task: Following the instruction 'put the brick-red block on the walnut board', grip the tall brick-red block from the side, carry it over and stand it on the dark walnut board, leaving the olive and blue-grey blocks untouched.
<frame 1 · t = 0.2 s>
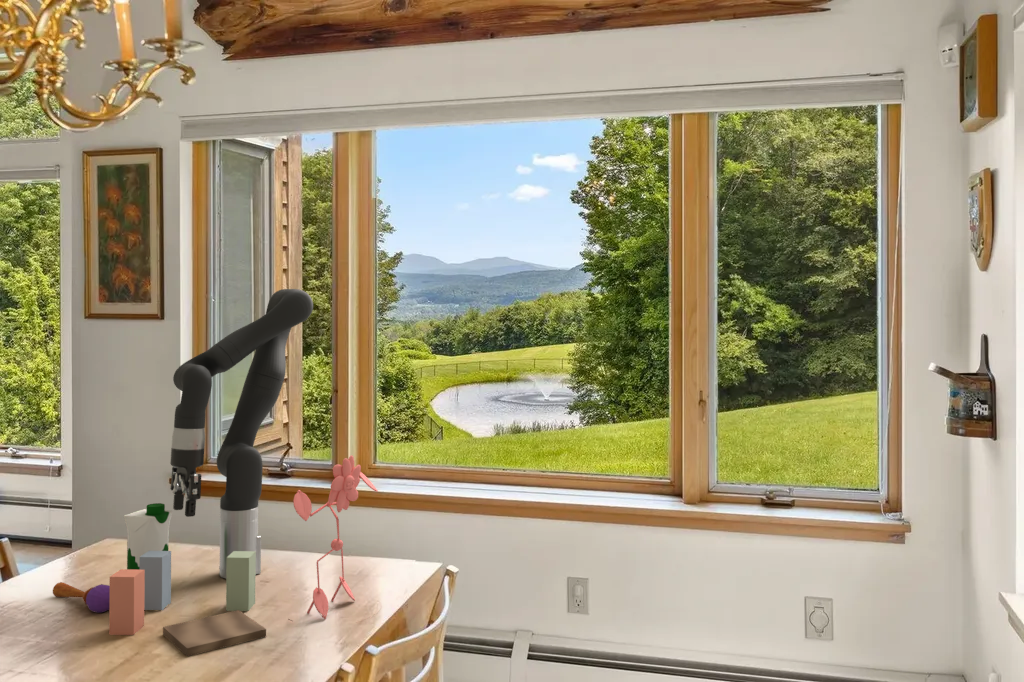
hand: (183, 512, 200), 18 cm above the table, tool pointing down, fingers open, 8 cm apart
milk carton: (147, 587, 199), on the table
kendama: (83, 606, 187), on the table
walnut board: (214, 635, 170), on the table
olive block: (240, 606, 187), on the table
figurine: (345, 612, 185), on the table
red block: (127, 630, 172), on the table
blue grey block: (155, 606, 186), on the table
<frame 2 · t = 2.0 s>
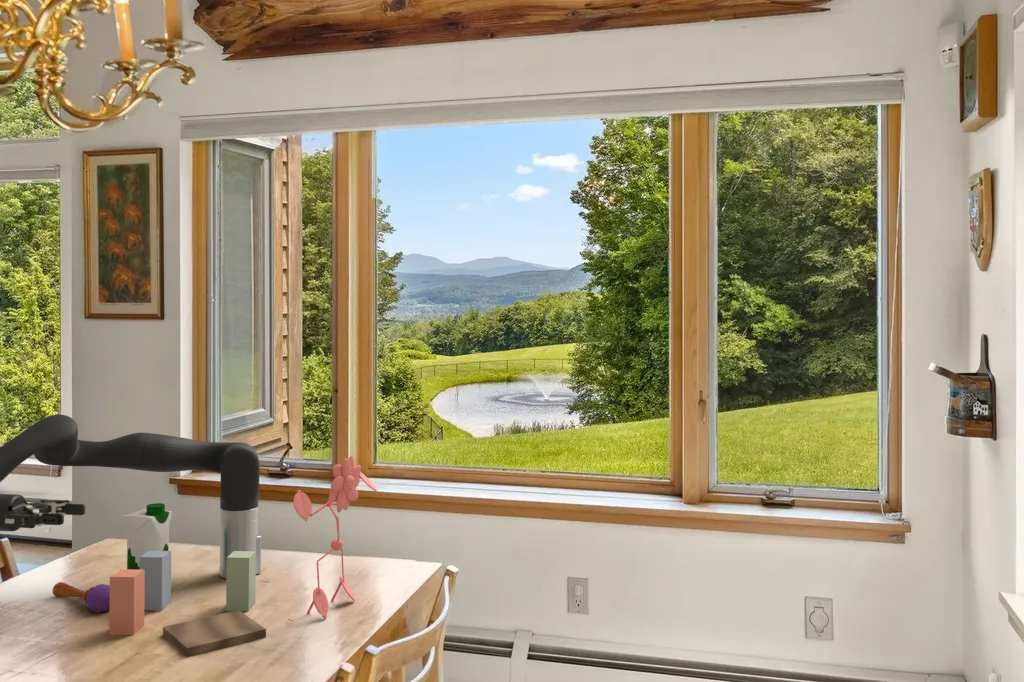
hand: (74, 514, 171), 24 cm above the table, tool horizontal, fingers open, 8 cm apart
nothing on the table moved.
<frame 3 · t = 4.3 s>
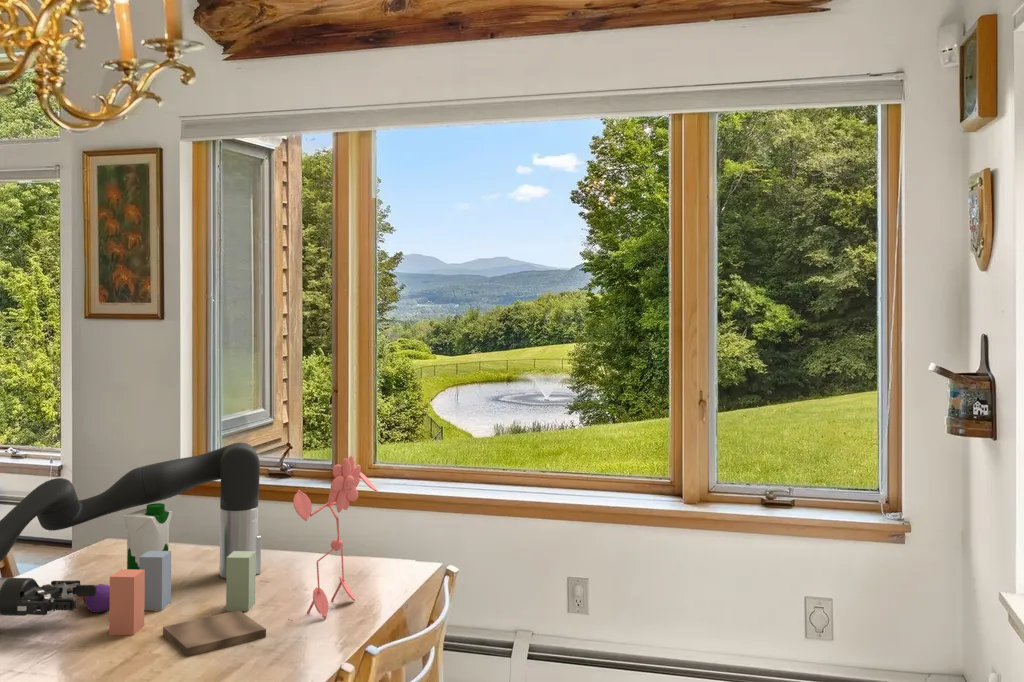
hand: (85, 597, 172), 7 cm above the table, tool horizontal, fingers open, 8 cm apart
nothing on the table moved.
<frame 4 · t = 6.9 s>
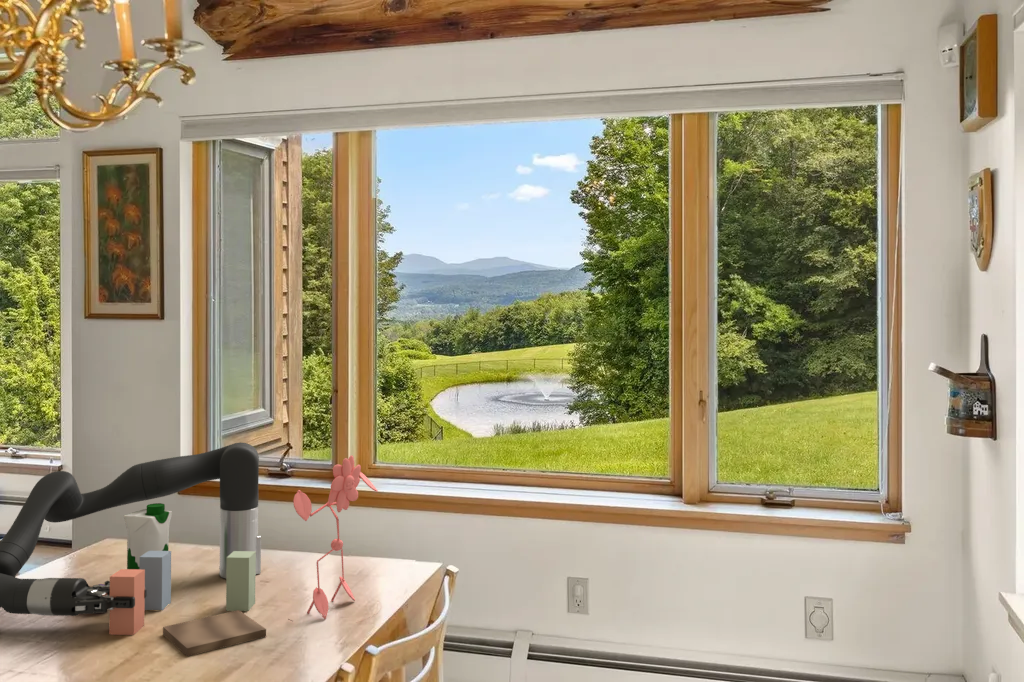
hand: (139, 597, 172), 7 cm above the table, tool horizontal, fingers closed on red block, 5 cm apart
red block: (127, 630, 172), on the table, touching gripper
everything else where it was.
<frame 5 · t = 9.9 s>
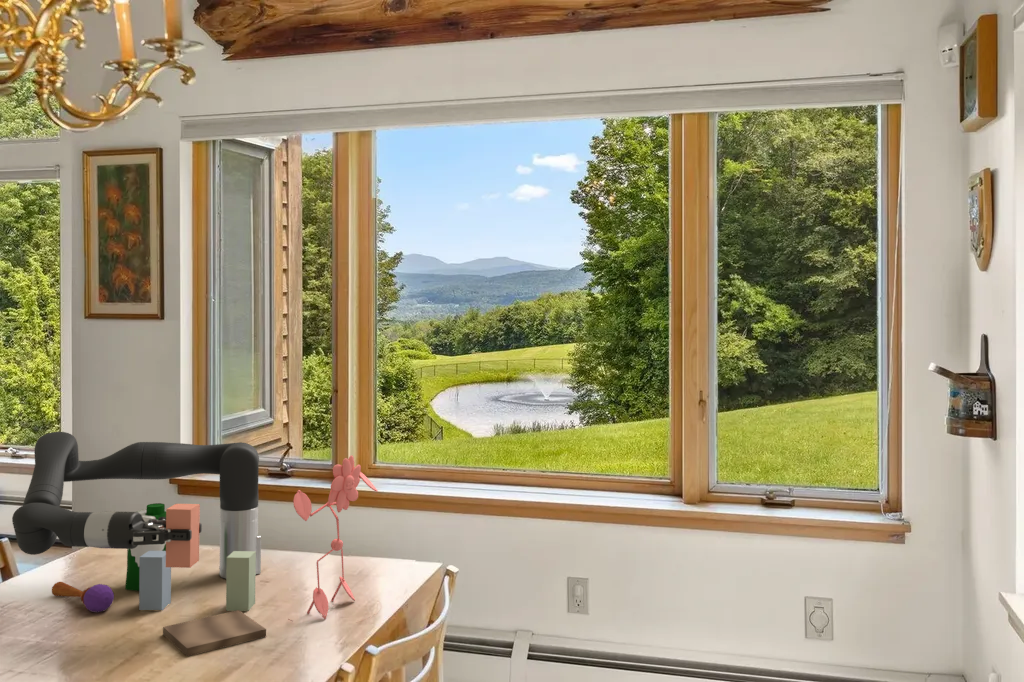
hand: (195, 531, 172), 21 cm above the table, tool horizontal, fingers closed on red block, 5 cm apart
red block: (182, 563, 172), point 14 cm above the table, touching gripper
everything else where it was.
when the fingers open (9 cm above the table, at t = 13.2 s): red block drops 1 cm, resting on walnut board.
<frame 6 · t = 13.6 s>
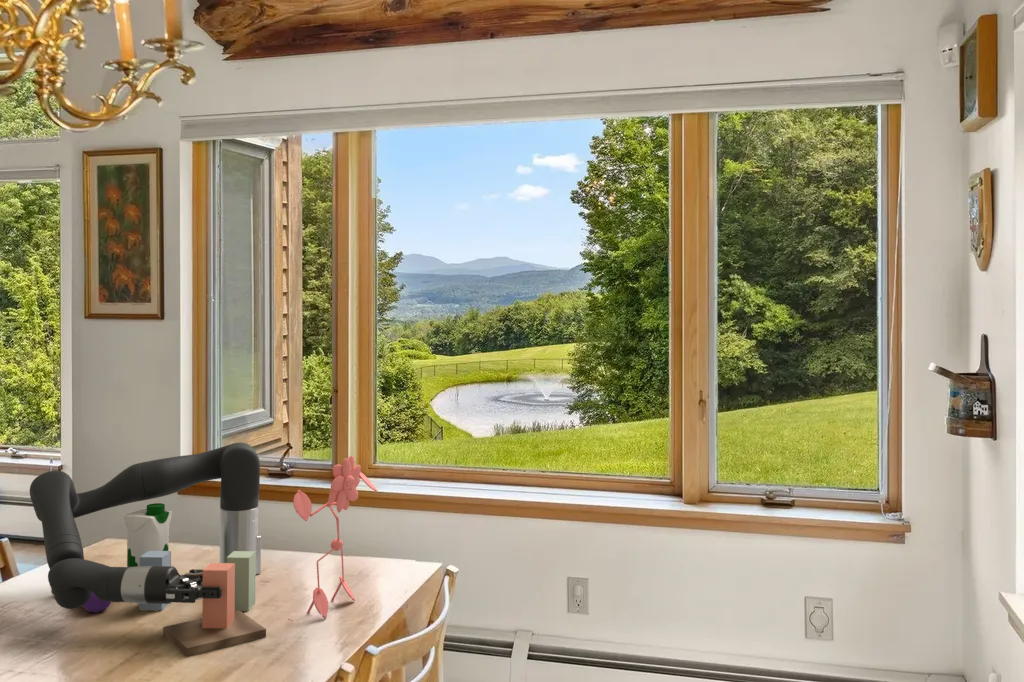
hand: (228, 585, 172), 10 cm above the table, tool horizontal, fingers open, 8 cm apart
red block: (218, 623, 172), point 2 cm above the table, touching walnut board
everything else where it was.
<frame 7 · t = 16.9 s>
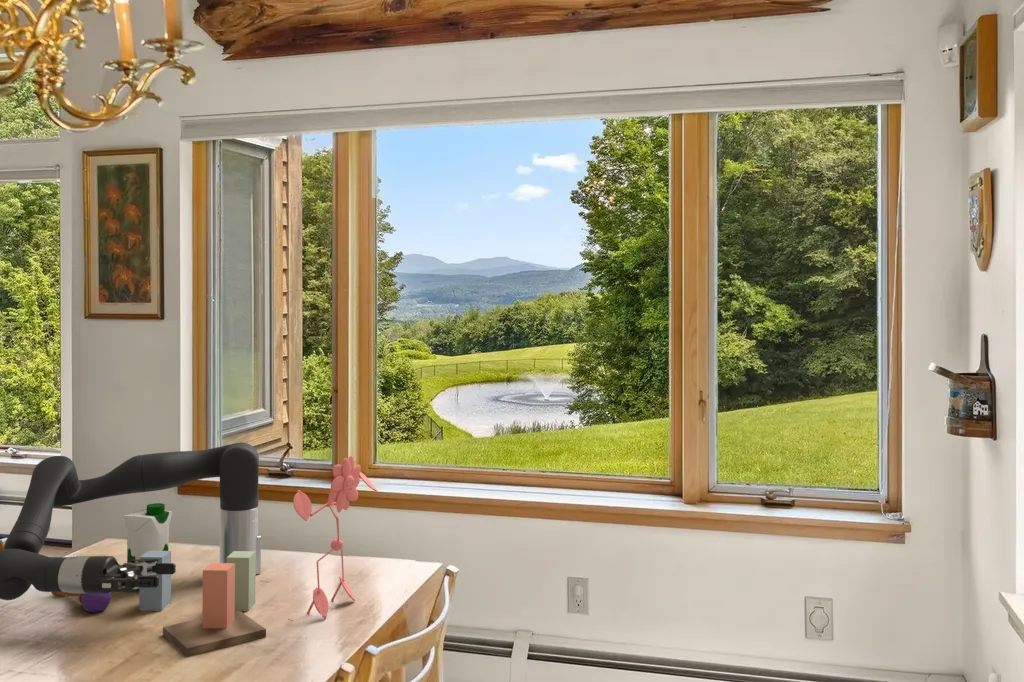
hand: (166, 575, 172), 12 cm above the table, tool horizontal, fingers open, 8 cm apart
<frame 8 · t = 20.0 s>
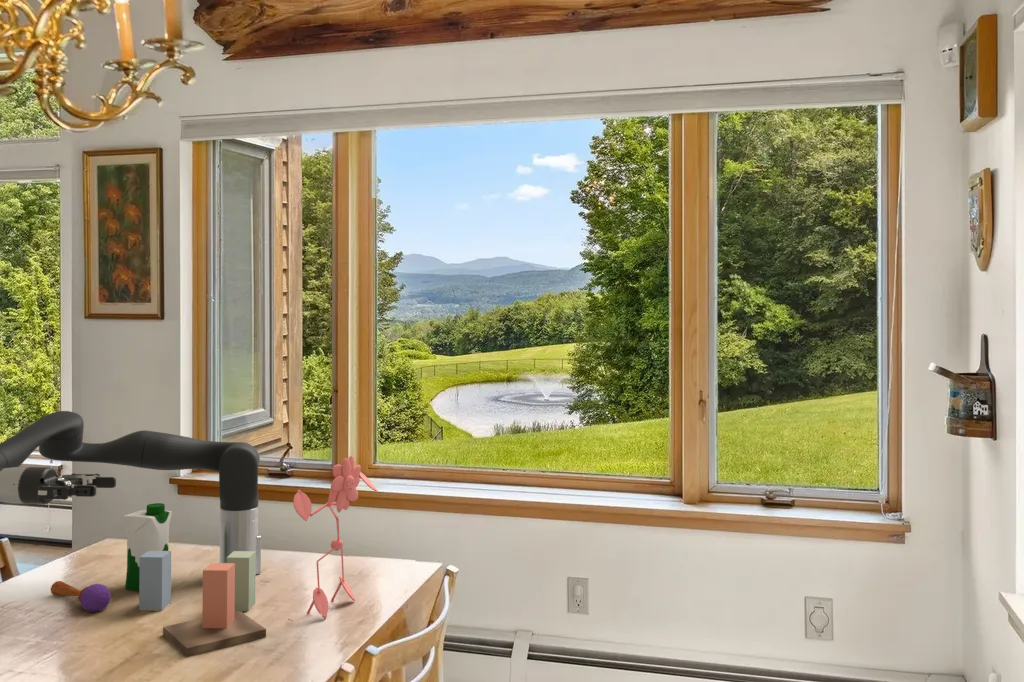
hand: (105, 486, 171), 30 cm above the table, tool horizontal, fingers open, 8 cm apart
at the end: red block inside the target area on the walnut board (2.3 cm from its centre), point 1.6 cm above the walnut board's base; olive block moved 0.0 cm from its start; blue grey block moved 0.0 cm from its start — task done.
